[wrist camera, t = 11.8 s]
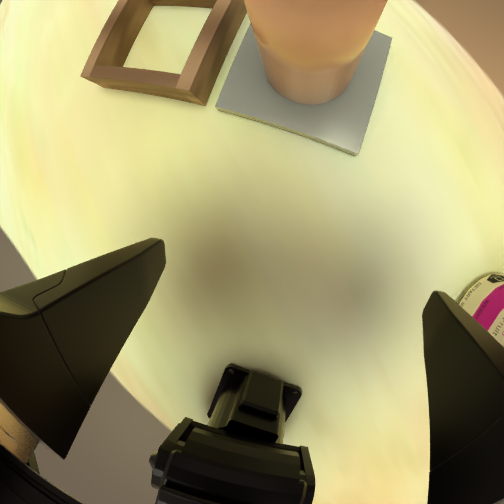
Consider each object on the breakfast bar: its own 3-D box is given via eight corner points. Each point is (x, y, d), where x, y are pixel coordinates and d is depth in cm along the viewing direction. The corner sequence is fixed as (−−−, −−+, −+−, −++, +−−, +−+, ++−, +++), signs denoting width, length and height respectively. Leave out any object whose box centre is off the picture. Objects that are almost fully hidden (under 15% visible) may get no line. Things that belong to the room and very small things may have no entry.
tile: (355, 156, 19) (358, 154, 18) (218, 110, 20) (215, 106, 19) (388, 43, 17) (392, 37, 16) (264, 5, 17) (262, -2, 16)
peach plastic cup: (352, 117, 17) (428, 10, 5) (253, 101, 18) (189, -21, 6) (359, 16, 16) (396, -109, 3) (270, 3, 16) (241, -127, 4)
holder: (205, 105, 20) (189, 91, 16) (104, 87, 20) (80, 76, 17) (250, 4, 18) (243, -21, 14) (149, -3, 18) (132, -22, 15)
